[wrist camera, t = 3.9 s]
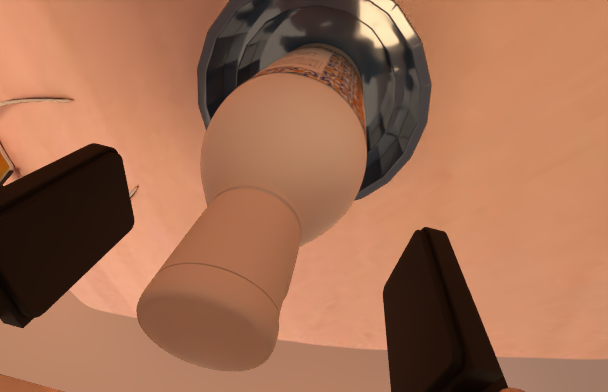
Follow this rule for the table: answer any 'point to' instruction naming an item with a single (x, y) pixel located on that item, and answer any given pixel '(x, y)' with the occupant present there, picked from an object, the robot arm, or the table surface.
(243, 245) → the bath foam
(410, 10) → the table surface
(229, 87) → the bowl
